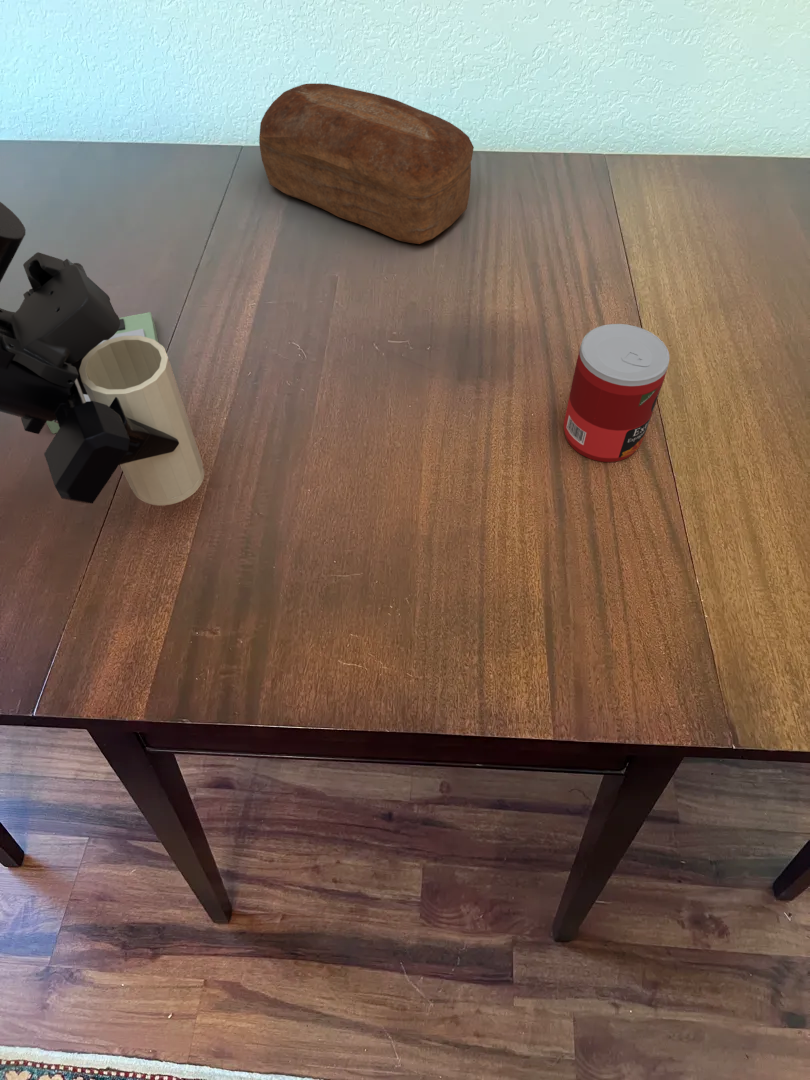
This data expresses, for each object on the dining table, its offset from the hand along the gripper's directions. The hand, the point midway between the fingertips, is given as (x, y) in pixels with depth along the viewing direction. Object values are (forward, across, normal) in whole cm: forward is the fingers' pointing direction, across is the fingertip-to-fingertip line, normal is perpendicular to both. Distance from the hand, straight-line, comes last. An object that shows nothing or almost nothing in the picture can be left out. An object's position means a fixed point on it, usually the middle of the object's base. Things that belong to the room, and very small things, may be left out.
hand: (163, 418), depth 63 cm
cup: (+4, 0, +6) cm, 7 cm away
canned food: (+37, -10, -19) cm, 42 cm away
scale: (+7, +22, +11) cm, 26 cm away
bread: (+35, +40, -17) cm, 55 cm away
